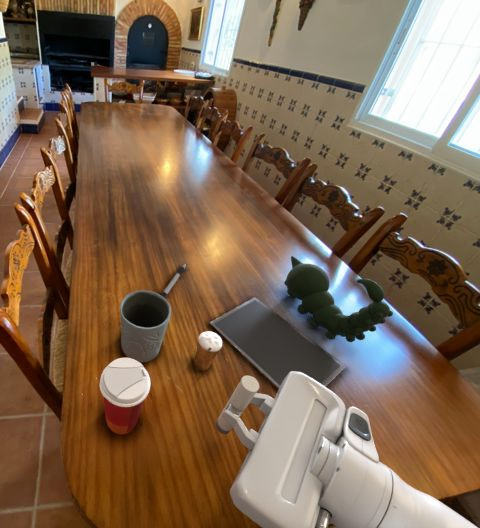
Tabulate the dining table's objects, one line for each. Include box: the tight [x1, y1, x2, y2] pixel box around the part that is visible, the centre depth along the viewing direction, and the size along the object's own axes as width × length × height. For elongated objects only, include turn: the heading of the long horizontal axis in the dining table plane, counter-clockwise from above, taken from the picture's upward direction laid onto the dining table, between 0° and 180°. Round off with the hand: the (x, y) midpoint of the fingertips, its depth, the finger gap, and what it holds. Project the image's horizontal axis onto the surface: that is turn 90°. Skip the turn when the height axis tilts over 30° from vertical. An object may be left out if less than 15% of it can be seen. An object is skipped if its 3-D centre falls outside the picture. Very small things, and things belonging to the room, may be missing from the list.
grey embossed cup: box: [119, 290, 172, 363], centre depth 62 cm, size 10×10×12 cm
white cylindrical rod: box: [215, 375, 260, 435], centre depth 41 cm, size 2×2×13 cm
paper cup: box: [98, 357, 151, 435], centre depth 49 cm, size 8×8×14 cm
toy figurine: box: [283, 255, 394, 343], centre depth 70 cm, size 9×19×25 cm
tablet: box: [208, 296, 346, 391], centre depth 67 cm, size 24×17×1 cm
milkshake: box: [193, 330, 223, 372], centre depth 59 cm, size 4×5×10 cm
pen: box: [161, 263, 187, 299], centre depth 82 cm, size 1×16×1 cm, turn 150°
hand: (231, 400), depth 41 cm, fingers closed on white cylindrical rod, 2 cm apart
